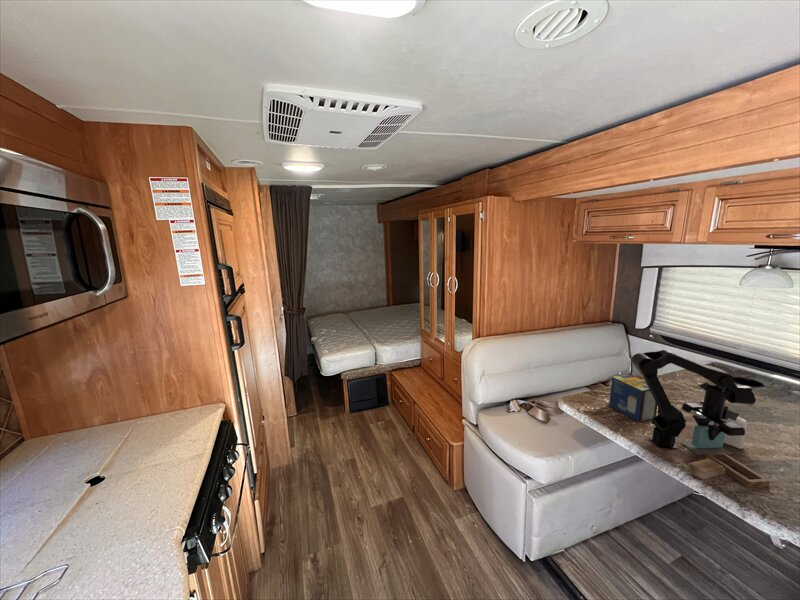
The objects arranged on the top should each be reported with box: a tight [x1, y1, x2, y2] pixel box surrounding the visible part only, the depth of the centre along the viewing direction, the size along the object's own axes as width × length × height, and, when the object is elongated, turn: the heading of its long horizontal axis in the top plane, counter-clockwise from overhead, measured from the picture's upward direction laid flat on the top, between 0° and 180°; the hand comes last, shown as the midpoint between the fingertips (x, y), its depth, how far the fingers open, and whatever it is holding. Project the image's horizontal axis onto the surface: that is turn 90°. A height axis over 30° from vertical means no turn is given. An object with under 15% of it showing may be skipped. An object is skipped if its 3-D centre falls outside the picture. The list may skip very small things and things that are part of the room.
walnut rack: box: [704, 453, 771, 488], centre depth 109 cm, size 7×14×2 cm, turn 2°
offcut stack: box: [686, 458, 727, 480], centre depth 109 cm, size 5×11×3 cm, turn 105°
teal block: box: [691, 425, 725, 448], centre depth 120 cm, size 2×10×8 cm, turn 92°
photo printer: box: [709, 416, 748, 450], centre depth 124 cm, size 10×4×12 cm, turn 29°
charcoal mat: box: [681, 442, 733, 457], centre depth 121 cm, size 13×7×1 cm, turn 92°
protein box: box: [608, 374, 658, 422], centre depth 147 cm, size 10×15×16 cm
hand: (707, 438), depth 120 cm, fingers closed on teal block, 2 cm apart
